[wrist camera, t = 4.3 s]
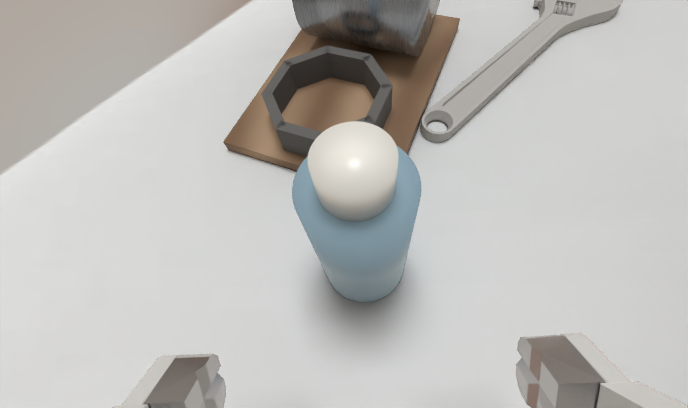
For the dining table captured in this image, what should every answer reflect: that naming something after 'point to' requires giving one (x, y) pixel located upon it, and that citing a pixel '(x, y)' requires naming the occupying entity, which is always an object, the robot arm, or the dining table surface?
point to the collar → (317, 69)
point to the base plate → (347, 97)
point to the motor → (370, 22)
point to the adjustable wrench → (514, 60)
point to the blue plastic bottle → (358, 207)
